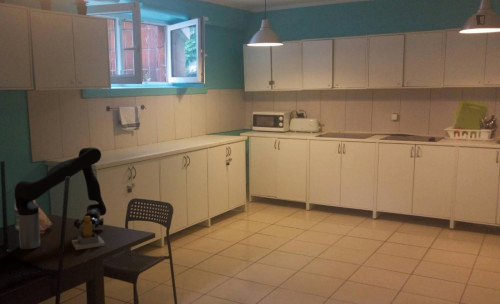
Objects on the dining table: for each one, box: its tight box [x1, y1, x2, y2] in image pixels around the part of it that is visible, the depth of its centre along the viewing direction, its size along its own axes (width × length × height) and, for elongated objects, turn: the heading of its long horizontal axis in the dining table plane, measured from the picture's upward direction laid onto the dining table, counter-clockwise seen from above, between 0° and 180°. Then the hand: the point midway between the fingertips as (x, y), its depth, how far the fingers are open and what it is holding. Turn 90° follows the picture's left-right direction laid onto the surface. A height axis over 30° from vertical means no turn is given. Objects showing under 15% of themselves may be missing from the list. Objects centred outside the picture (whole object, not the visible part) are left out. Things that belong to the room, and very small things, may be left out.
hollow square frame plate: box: [71, 232, 106, 251], centre depth 241 cm, size 14×12×4 cm
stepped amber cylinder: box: [82, 215, 93, 238], centre depth 240 cm, size 4×4×13 cm
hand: (86, 226), depth 238 cm, fingers open, 8 cm apart
